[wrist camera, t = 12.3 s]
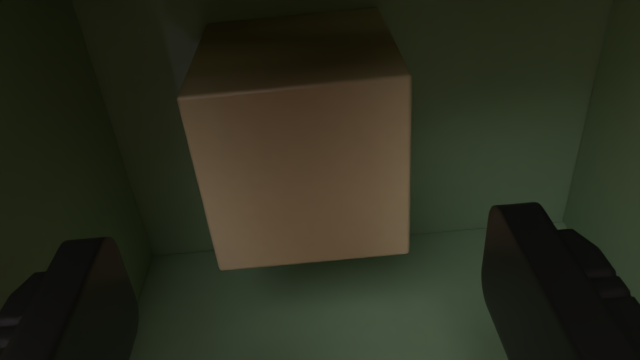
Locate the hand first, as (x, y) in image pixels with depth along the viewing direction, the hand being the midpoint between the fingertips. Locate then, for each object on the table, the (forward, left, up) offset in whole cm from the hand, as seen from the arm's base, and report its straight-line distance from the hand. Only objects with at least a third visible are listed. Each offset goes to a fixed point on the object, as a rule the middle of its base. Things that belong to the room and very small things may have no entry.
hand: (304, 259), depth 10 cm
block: (0, 0, -7) cm, 7 cm away
